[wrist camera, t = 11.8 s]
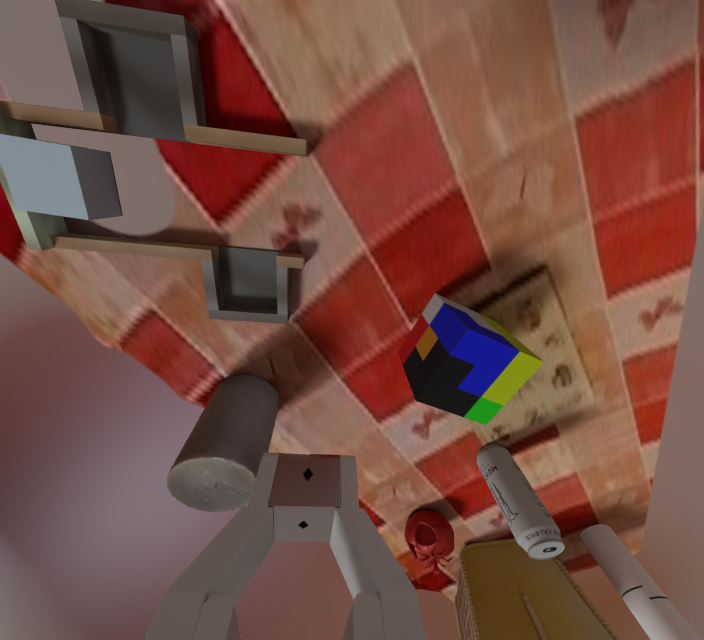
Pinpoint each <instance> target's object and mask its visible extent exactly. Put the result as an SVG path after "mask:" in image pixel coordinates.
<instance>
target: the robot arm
mask: <svg viewBox="0 0 704 640" xmlns="http://www.w3.org/2000/svg"><path fill="white" fill-rule="evenodd" d="M294 541H295V542H296V541H306V542H330V546H331V548H332V550H333V553H334V555H335V557H336V560H337V562H338V564H339V567H340V569H341V571H342V574H343V576H344V578H345V581H346V583H347V585H348V587H349V590H350V592H351V594H352V597H353V599H354V600H353V602H352V606H351V609H350V613H349V616H348V619H347V623H346V626H345V630H344V633H343V637H342V640H426V638H425V633H424V628H423V622H422V617H421V612H420V607H419V602H418V597H417V591H416V590H415V588H414V587H413V585H412V583H411V582H410V580H409V579H408V577H407V576H406V574H405V573H404V571H403V569H402V568H401V566H400V565H399V563H398V562H397V560H396V558H395V557H394V555H393V554H392V552H391V551H390V549H389V547H388V546H387V544H386V543H385V541H384V540H383V538H382V537H381V535H380V533H379V532H378V530H377V529H376V527H375V526H374V524H373V522H372V521H371V519H370V518H369V516H368V515H367V513H366V512H365V510H364V509H360V508H359V500H358V485H357V471H356V459H355V456H342V455H340V456H339V455H321V454H310V455H305V454H287V453H267V452H264V454H263V456H262V458H261V462H260V465H259V469H258V472H257V476H256V479H255V483H254V487H253V490H252V494H251V497H250V501H249V504H248V506H247V507H242V508H241V509H240V510H239V511H238V512H237V514H236V515H235V516H234V517H233V518H232V519H231V520H230V521H229V522H228V524H227V525H226V526H225V527H224V528H223V529H222V530H221V531H220V532H219V533H218V535H217V536H216V537H215V538H214V539H213V540H212V541H211V542H210V543H209V544H208V546H207V547H206V548H205V549H204V550H203V551H202V552H201V553H200V554H199V555H198V557H197V558H196V559H195V560H194V561H193V562H192V563H191V564H190V565H189V567H188V568H187V569H186V570H185V571H184V572H183V573H182V575H180V576H179V578H178V579H177V580H176V581H175V582H174V583H173V584H172V585H171V586H170V587H169V589H168V590H167V591H166V592H165V593H164V595H163V597H162V600H161V602H160V604H159V607H158V609H157V611H156V614H155V616H154V619H153V621H152V623H151V625H150V628H149V630H148V632H147V635H146V637H145V639H144V640H241V639H240V633H239V627H238V621H237V615H236V609H235V603H236V602H237V600H238V599H239V597H240V596H241V594H242V592H243V591H244V589H245V588H246V586H247V585H248V583H249V582H250V580H251V579H252V577H253V576H254V574H255V572H256V571H257V569H258V568H259V566H260V565H261V563H262V562H263V560H264V559H265V557H266V555H267V554H268V552H269V551H270V549H271V548H272V546H273V544H274V542H294Z"/></svg>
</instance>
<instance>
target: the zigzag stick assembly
mask: <svg viewBox="0 0 704 640" xmlns="http://www.w3.org/2000/svg"><path fill="white" fill-rule="evenodd" d="M55 2H56V6H57V9H58V14H59V17H60V21H61V25H62V28H63V32H64V35H65V39H66V43H67V47H68V51H69V54H70V58H71V62H72V65H73V69H74V73H75V76H76V80H77V84H78V88H79V91H80V95H81V99H82V103H83V106H84V110H85V112H84V111H76V110H68V109H61V108H53V107H44V106H37V105H29V104H21V103H14V102H6V101H0V134H4V135H11V136H17V137H23V138H29V139H35V140H36V137H35V134H34V131H33V128H32V125H31V123H33V124H42V125H49V126H57V127H66V128H74V129H82V130H91V131H99V132H106V133H116V134H123V135H132V136H139V137H147V138H156V139H164V140H172V141H180V142H188V143H197V144H205V145H213V146H221V147H229V148H238V149H246V150H254V151H262V152H270V153H279V154H287V155H295V156H303V157H308V142H307V140H304V139H296V138H288V137H280V136H272V135H264V134H257V133H249V132H241V131H233V130H225V129H217V128H210V127H207V120H206V111H205V102H204V93H203V84H202V75H201V66H200V57H199V48H198V39H197V30H196V29H195V28H194V27H193V26H192V25H191V24H190V23H189V21H188V20H187V19H186V18H185V17H184V16H182V15H176V14H170V13H163V12H157V11H151V10H145V9H139V8H133V7H126V6H120V5H114V4H108V3H102V2H96V1H90V0H55ZM0 182H1V184H2V186H3V189H4V191H5V194H6V196H7V198H8V201H9V203H10V206H11V208H12V210H13V213H14V215H15V217H16V220H17V222H18V225H19V227H20V229H21V232H22V234H23V237H24V239H25V241H26V244H27V246H28V248H29V249H32V250H46V249H51V248H63V249H75V250H86V251H98V252H110V253H122V254H134V255H146V256H158V257H170V258H181V259H193V260H201V265H202V272H203V279H204V285H205V292H206V299H207V306H208V313H209V319H222V320H237V321H253V322H268V323H283V324H288V321H289V318H290V268H300V269H303V268H304V266H305V256H306V254H300V253H289V252H277V251H266V250H255V249H244V248H233V247H221V246H210V245H199V244H188V243H177V242H165V241H154V240H143V239H132V238H121V237H109V236H98V235H87V234H76V233H69V232H68V229H67V226H66V224H65V221H64V218H63V216H58V215H51V214H44V213H37V212H30V211H23V210H17V208H16V205H15V202H14V199H13V196H12V194H11V191H10V188H9V185H8V182H7V180H6V177H5V174H4V171H3V168H2V166H1V163H0Z"/></svg>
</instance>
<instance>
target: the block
mask: <svg viewBox="0 0 704 640" xmlns="http://www.w3.org/2000/svg"><path fill="white" fill-rule="evenodd" d="M0 163H1V166H2V168H3V171H4V174H5V177H6V180H7V182H8V185H9V188H10V191H11V194H12V196H13V199H14V202H15V205H16V208H17V210H23V211H30V212H37V213H44V214H51V215H58V216H64V217H71V218H78V219H85V220H93V219H101V218H109V217H117V216H123V214H122V209H121V204H120V199H119V194H118V189H117V184H116V179H115V174H114V169H113V164H112V160H111V155H110V152H105V151H99V150H93V149H88V148H82V147H76V146H70V145H64V144H58V143H53V142H47V141H41V140H35V139H29V138H23V137H17V136H11V135H4V134H0Z"/></svg>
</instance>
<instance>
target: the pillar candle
mask: <svg viewBox="0 0 704 640" xmlns="http://www.w3.org/2000/svg"><path fill="white" fill-rule="evenodd" d="M279 403H280V399H279V394H278V392H277V391H276V390H275V389H274V388H273V386H272V385H270V384H269V383H268V382H267V381H266V380H264V379H262V378H260V377H257V376H254V375H247V374H242V375H235V376H232V377H229V378H227V379H225V380H224V381H223V382H221V383H220V384H219V385H218V387H217V388H216V390H215V392H214V393H213V395H212V397H211V399H210V400H209V402H208V404H207V406H206V408H205V409H204V411H203V413H202V414H201V416H200V418H199V420H198V421H197V423H196V425H195V427H194V429H193V431H192V432H191V434H190V436H189V438H188V439H187V441H186V443H185V444H184V446H183V448H182V450H181V452H180V454H179V455H178V457H177V459H176V461H175V463H174V465H173V466H172V468H171V470H170V472H169V474H168V477H167V487H168V489H169V491H170V492H171V494H172V495H173V497H175V498H176V499H177V500H178V501H180V502H181V503H183V504H185V505H187V506H189V507H192V508H194V509H197V510H201V511H207V512H227V511H233V510H236V509H239V508H242V507H244V506H245V505H247V504H249V501H250V497H251V494H252V490H253V487H254V483H255V479H256V476H257V472H258V469H259V465H260V462H261V458H262V456H263V454H264V452H267V453H268V449H269V445H270V441H271V437H272V433H273V429H274V425H275V421H276V417H277V412H278V409H279Z"/></svg>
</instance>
